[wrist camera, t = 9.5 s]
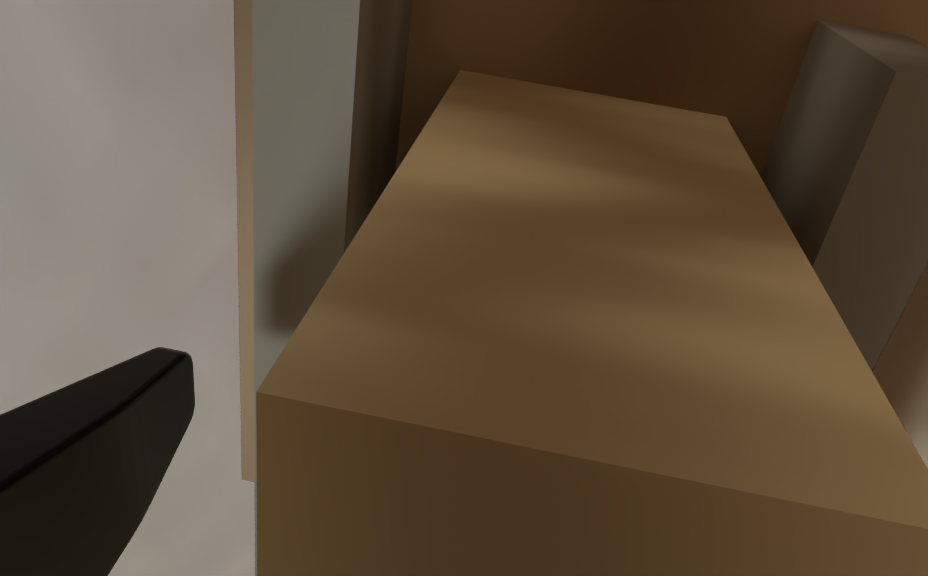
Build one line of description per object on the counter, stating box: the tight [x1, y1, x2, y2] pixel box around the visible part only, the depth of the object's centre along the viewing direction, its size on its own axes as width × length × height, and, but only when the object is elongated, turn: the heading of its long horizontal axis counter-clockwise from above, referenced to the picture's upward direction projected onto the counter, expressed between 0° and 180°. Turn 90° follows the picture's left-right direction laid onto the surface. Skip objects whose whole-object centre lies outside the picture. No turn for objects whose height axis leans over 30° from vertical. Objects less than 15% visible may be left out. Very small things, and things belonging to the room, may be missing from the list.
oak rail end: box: [256, 70, 928, 576], centre depth 9 cm, size 4×7×8 cm, turn 172°
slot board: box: [234, 0, 928, 576], centre depth 12 cm, size 11×12×4 cm
